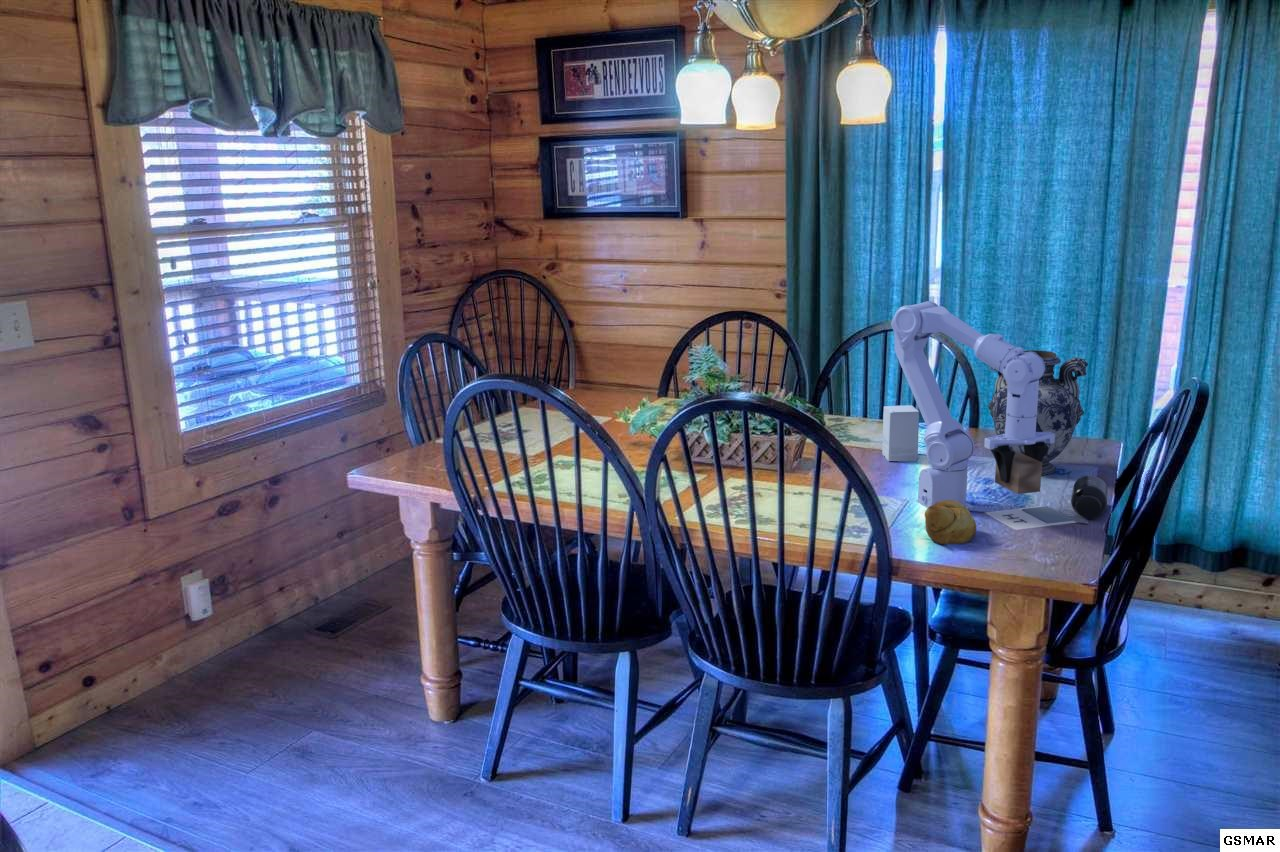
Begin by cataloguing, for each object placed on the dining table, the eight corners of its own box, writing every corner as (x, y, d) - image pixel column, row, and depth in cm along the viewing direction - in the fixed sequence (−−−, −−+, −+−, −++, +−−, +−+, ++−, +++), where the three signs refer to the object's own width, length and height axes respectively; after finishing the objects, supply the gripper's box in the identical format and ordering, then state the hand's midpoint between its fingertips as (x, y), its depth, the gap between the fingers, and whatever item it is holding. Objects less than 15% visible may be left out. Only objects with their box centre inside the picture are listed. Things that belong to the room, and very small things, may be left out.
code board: (1014, 532, 203) (1015, 529, 203) (984, 515, 213) (984, 512, 213) (1077, 525, 206) (1077, 522, 206) (1043, 508, 217) (1043, 505, 216)
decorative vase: (1081, 462, 248) (1089, 347, 240) (1078, 485, 231) (1086, 363, 224) (988, 454, 256) (993, 343, 249) (979, 476, 240) (984, 358, 233)
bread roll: (925, 524, 209) (926, 487, 208) (975, 528, 207) (977, 490, 205) (922, 546, 198) (924, 507, 196) (975, 550, 195) (978, 510, 193)
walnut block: (1017, 494, 203) (1019, 464, 201) (994, 482, 210) (996, 454, 209) (1040, 491, 204) (1042, 462, 202) (1016, 480, 211) (1018, 451, 210)
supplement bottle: (1066, 495, 219) (1062, 512, 208) (1083, 468, 216) (1080, 484, 206) (1097, 511, 217) (1095, 529, 207) (1114, 485, 214) (1113, 501, 204)
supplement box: (918, 461, 253) (920, 411, 250) (887, 462, 253) (889, 412, 250) (911, 453, 260) (912, 404, 257) (881, 454, 260) (883, 405, 257)
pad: (1047, 523, 206) (1047, 522, 206) (1021, 510, 214) (1022, 508, 214) (1073, 520, 207) (1073, 519, 207) (1047, 507, 215) (1047, 505, 215)
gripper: (1000, 422, 198) (996, 489, 201) (1066, 415, 201) (1061, 482, 205) (980, 414, 205) (976, 479, 208) (1044, 408, 208) (1039, 472, 211)
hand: (1017, 480), depth 207 cm, fingers closed on walnut block, 5 cm apart
